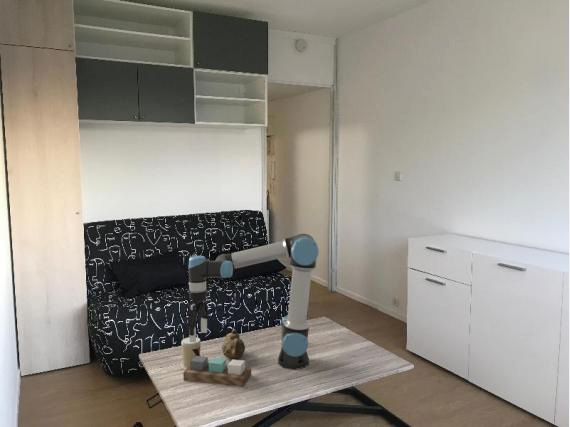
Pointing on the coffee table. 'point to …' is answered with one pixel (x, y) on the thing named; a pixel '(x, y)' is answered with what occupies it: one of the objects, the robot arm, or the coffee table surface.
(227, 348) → the carved stone sculpture
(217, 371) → the teal key
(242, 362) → the white key
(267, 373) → the coffee table surface
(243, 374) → the frame
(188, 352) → the coffee cup
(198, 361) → the charcoal key
